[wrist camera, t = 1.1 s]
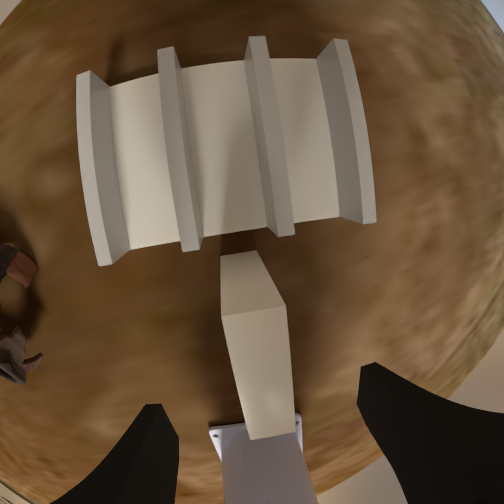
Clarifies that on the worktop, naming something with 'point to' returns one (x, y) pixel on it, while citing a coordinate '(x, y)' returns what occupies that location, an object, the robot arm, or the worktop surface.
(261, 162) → the dish rack
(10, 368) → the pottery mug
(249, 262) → the beige rectangular block
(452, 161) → the worktop surface
